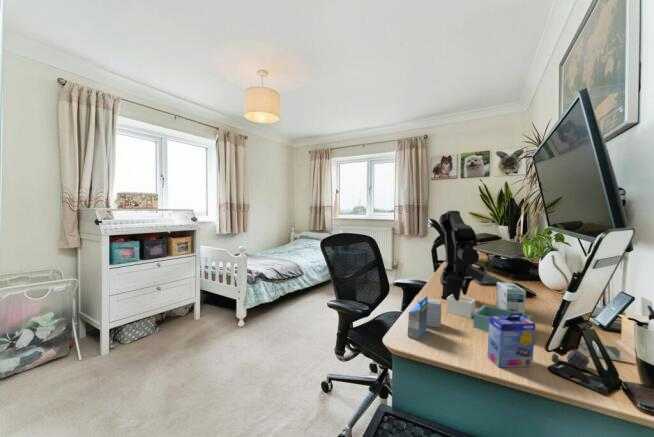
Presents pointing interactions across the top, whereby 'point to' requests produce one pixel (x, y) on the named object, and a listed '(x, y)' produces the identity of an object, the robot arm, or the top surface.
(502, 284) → the light bulb box
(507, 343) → the ink cartridge box
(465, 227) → the robot arm
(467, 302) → the small crate
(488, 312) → the box
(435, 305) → the medicine box
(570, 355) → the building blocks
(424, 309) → the label tape box
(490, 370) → the top surface
